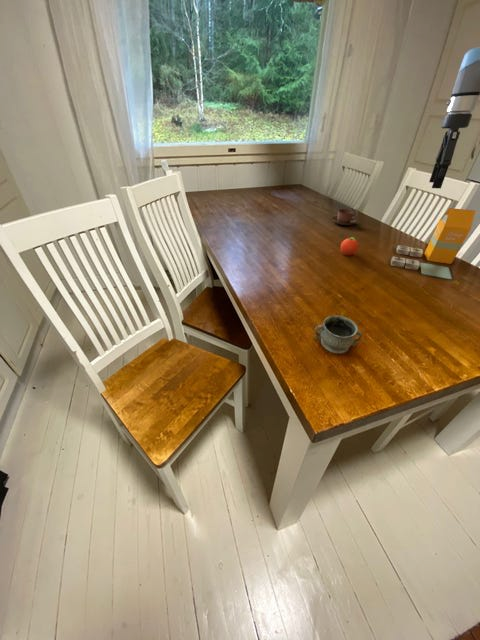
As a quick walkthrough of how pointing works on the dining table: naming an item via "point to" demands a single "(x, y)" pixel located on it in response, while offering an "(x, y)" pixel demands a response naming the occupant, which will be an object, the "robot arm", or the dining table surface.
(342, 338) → the vessel
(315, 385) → the dining table surface
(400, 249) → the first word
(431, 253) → the orange juice
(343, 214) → the cup and saucer
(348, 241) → the tomato
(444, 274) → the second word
